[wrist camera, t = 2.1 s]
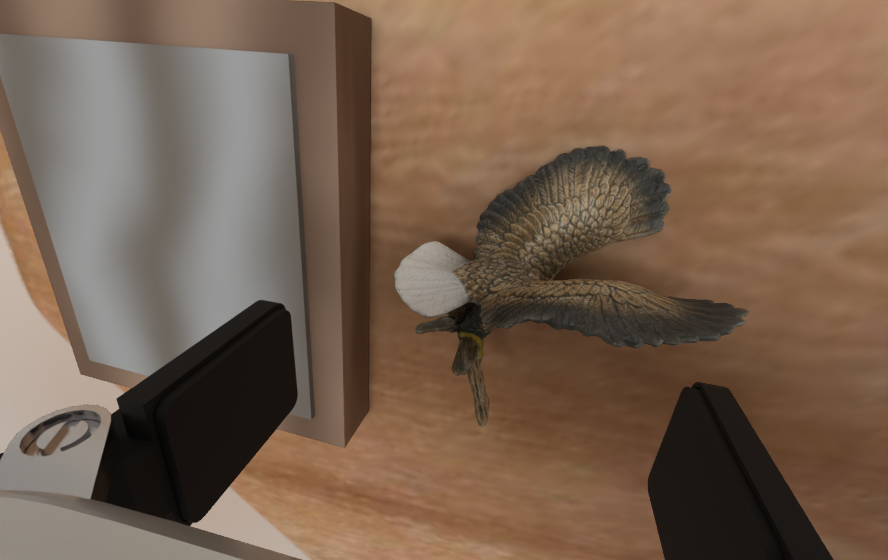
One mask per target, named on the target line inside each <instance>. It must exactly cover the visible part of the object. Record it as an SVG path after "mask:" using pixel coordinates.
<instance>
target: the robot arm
mask: <svg viewBox="0 0 888 560" xmlns="http://www.w3.org/2000/svg"><path fill="white" fill-rule="evenodd" d="M297 398H298V391H297V379H296V368H295V356H294V345H293V333H292V322H291V314H290V312H289V311H288V310H286V308H285V306H284V305H283V304H282V303H276V302H271V301H266V300H258V301H256V302H255V303H253V304H252V305H251V306H249V307H248V308H246V309H245V310H243V311H242V312H241V313H239V314H238V315H236V316H235V317H233V318H232V319H230V320H229V321H228V322H226V323H225V324H223V325H222V326H220V327H219V328H218V329H216V330H215V331H213V332H212V333H210V334H209V335H207V336H206V337H205V338H203V339H202V340H200V341H199V342H197V343H196V344H195V345H193V346H192V347H190V348H189V349H187V350H186V351H185V352H183V353H182V354H180V355H179V356H177V357H176V358H174V359H173V360H172V361H170V362H169V363H167V364H166V365H164V366H163V367H162V368H160V369H159V370H157V371H156V372H154V373H153V374H151V375H150V376H149V377H147V378H146V379H144V380H143V381H141V382H140V383H139V384H137V385H136V386H134V387H133V388H131V389H130V390H128V391H127V392H126V393H124V394H123V395H121V396H120V397H118V398H117V402H118V405H119V409H118V410H117V411H116V412H114V413H113V414H111V413H110V412H109V411H108V410H107V409H106V408H104V407H101V406H98V405H79V406H72V407H68V408H64V409H61V410H57V411H55V412H52V413H50V414H47V415H45V416H43V417H41V418H39V419H37V420H35V421H34V422H32V423H30V424H29V425H27V426H26V427H25V428H23V429H22V430H21V431H19V432H18V433H17V434H16V435H15V436H14V438H13V439H12V440H11V442H10V443H9V445H8V447H7V448H6V450H5V452H4V453H1V454H0V560H301V559H298V558H294V557H291V556H288V555H285V554H281V553H277V552H274V551H271V550H268V549H264V548H261V547H258V546H254V545H251V544H248V543H244V542H241V541H238V540H234V539H231V538H228V537H224V536H221V535H217V534H214V533H211V532H207V531H204V530H201V529H197V528H194V527H191V526H190V525H191V524H192V523H195V522H198V521H200V520H201V519H202V518H203V517H204V516H205V515H206V513H208V511H209V510H210V509H211V508H212V506H213V505H214V504H215V503H216V502H217V500H218V499H219V498H220V497H221V495H222V494H223V493H224V492H225V491H226V489H227V488H228V487H229V486H230V485H231V483H232V482H233V481H234V480H235V479H236V477H237V476H238V475H239V474H240V473H241V471H242V470H243V469H244V468H245V466H246V465H247V464H248V463H249V462H250V460H251V459H252V458H253V457H254V456H255V454H256V453H257V452H258V451H259V449H260V448H261V447H262V446H263V445H264V443H265V442H266V441H267V440H268V439H269V437H270V436H271V435H272V434H273V433H274V431H275V430H276V429H277V428H278V426H279V425H280V424H281V423H282V422H283V420H284V419H285V418H286V417H287V416H288V414H289V413H290V412H291V411H292V409H293V408H294V406H295V404H296V402H297ZM648 492H649V497H650V501H651V505H652V509H653V513H654V517H655V521H656V525H657V529H658V533H659V537H660V541H661V545H662V549H663V553H664V558H665V560H833V558H832V557H831V555H830V553H829V552H828V550H827V548H826V547H825V545H824V544H823V542H822V540H821V539H820V537H819V535H818V534H817V532H816V530H815V529H814V527H813V526H812V524H811V522H810V521H809V519H808V517H807V516H806V514H805V512H804V511H803V509H802V508H801V506H800V504H799V503H798V501H797V499H796V498H795V496H794V494H793V493H792V491H791V490H790V488H789V486H788V485H787V483H786V481H785V480H784V478H783V476H782V475H781V473H780V472H779V470H778V468H777V467H776V465H775V463H774V462H773V460H772V458H771V457H770V455H769V454H768V452H767V450H766V449H765V447H764V445H763V444H762V442H761V440H760V439H759V437H758V436H757V434H756V432H755V431H754V429H753V427H752V426H751V424H750V422H749V421H748V419H747V417H746V416H745V414H744V413H743V411H742V409H741V408H740V406H739V404H738V403H737V401H736V399H735V398H734V396H733V395H732V393H731V391H730V390H729V389H728V388H726V387H722V386H716V385H711V384H706V383H700V382H696V383H694V384H693V385H692V387H684V389H683V390H682V392H681V394H680V397H679V399H678V402H677V405H676V407H675V410H674V412H673V415H672V417H671V420H670V423H669V425H668V428H667V430H666V433H665V436H664V438H663V441H662V443H661V446H660V448H659V451H658V454H657V456H656V459H655V461H654V464H653V466H652V469H651V472H650V474H649V478H648Z"/></svg>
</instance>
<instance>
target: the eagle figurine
mask: <svg viewBox="0 0 888 560" xmlns="http://www.w3.org/2000/svg"><path fill="white" fill-rule="evenodd" d="M649 165H650V162H649V160H648V159H646V158H642V157H636V158H631V159H628V160H627V159H626V152H625V151H623V150H620V149H619V150H617V151H613V152H610V149H609V148H608V147H605V146H599V147H588V148H586V149H585V150H583V149H579V148H577V149H574V150H573V151H572V152H570V153H569V154H565V153H564V154H561V155H559V156H558V157H557V159H556V160H555V161H554V162H550V163H548V164H547V165H545V166H543V167H541V168H540V169H539V170H538V171H537V172H536V175H535V176H532V175H531V176H529V177H527V178H526V179H525V180H524V181H521V182H519V183H518V184H517V185H516V186H515V187H514V189H507V190H505V191H504V192H503V193H502V194H499V195H497V196H496V198H495V200H493V201H492V202H491V203H490V204H489V205H488V208H487V210H486V211H485V212H483V213H482V214H481V215H480V221H479V223H478V224H477V229H478V231H479V233H478V235H477V237H476V242H477V244H478V246H477V247H476V248H475V249H474V251H473V253H474V256H475V259H474V260H473V261H471V260H468V259H466V258H465V257H463V256H461V255H459V254H458V253H456V252H455V251H453V250H451V249H450V248H448V247H447V246H446V245H443V244H442V243H440V242H437V241H433V242H428V243H425V244H423V245H421V246H420V247H419V248H417V249H416V250H414V252H412V253H411V254H409V255H407V256H406V257H404V258H403V259H402V261H401V263H400V266H399V267H398V268H397V270H396V271H395V273H394V278H395V288H396V291H397V292H398V294H399V295H400V297H401V299H402V301H403V302H404V303H405V304H407V305H408V306H409V308H410V309H411V310H412V311H414V312H416V313H419V314H420V315H421V316H424V317H429V318H434V317H439V316H442V315H444V314H449V316H444V317H441V318H439V319H437V320H434V321H431V322H426V323H422V324H420V325H418V326H417V328H416V333H418V334H423V333H427V332H434V331H448V332H451V333H454V332H458V338H459V340H460V342H459V347H458V350H457V353H456V356H455V359H454V362H453V366H452V371H453V373H454V374H455V375H465V374H466V373H467V376H468V379H469V382H470V385H471V388H472V392H473V395H474V400H475V413H476V418H477V421H478V424H479V425H480V426H484V425H485V424H486V422H487V419H488V410H489V400H488V397H487V394H486V390H485V386H484V377H483V374H482V371H481V366H480V363H481V360H482V357H483V345H484V342H483V339H484V338H485V337H486V336H487V335H488V334H490V331H491V328H492V326H493V327H494V326H495V327H498V328H499V327H502V328H506V329H507V328H511V327H512V326H513V325H514V324H516V323H523V322H526V321H530V320H531V321H534V322H536V323H547V324H549V325H550V326H551V327H553V328H554V329H558V330H559V329H567V330H577V331H580V332H581V333H582V334H583V335H584V336H598V337H600V338H601V339H602V340H603V341H605V342H606V343H608V344H610V345H612V346H615V347H621V346H624V345H625V346H629V347H632V348H640V347H642V345H643V343H645V344H648V345H651V346H654V347H657V346H659V345H660V344H662V343H663V344H668V345H677V344H680V343H696V342H698V341H715V340H719V339H720V337H721V336H723V335H726V334H730V333H732V332H733V331H734V328H735V327H737V326H741V325H743V324H744V323H745V321H744V320H742V319H740V318H742V317H744V316H746V315H747V314H748V313H749V311H748V310H745V309H740V308H735V307H734V306H733V305H731V304H727V303H713V301H712V300H696V299H682V298H675V297H671V296H665V295H662V294H660V293H658V292H655V291H652V290H649V289H647V288H645V287H642V286H640V285H636V284H632V283H629V282H625V281H619V280H595V279H569V280H555V281H552V280H553V278H554V276H555V275H556V274H557V273H558V272H559V271H560V270H561V269H563V268H564V267H566V266H567V265H569V264H570V263H571V262H573V261H574V260H576V259H577V258H579V257H581V256H584V255H586V254H588V253H590V252H593V251H595V250H598V249H600V248H602V247H604V246H607V245H609V244H611V243H614V242H619V241H624V240H631V239H635V238H637V237H643V236H648V235H651V234H653V233H656V232H659V231H661V230H662V229H663V226H664V223H663V221H662V218H663V217H664V216H665V214H666V213H667V212H668V211H669V206H668V204H667V203H666V202H665V201H664V200H665V199H666V198H667V197H668V196H669V195H670V193H671V186H670V185H669V184H667V183H664V180H665V177H666V174H665V172H664V171H662V170H661V169H652V168H650V167H649Z"/></svg>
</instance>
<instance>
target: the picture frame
mask: <svg viewBox="0 0 888 560" xmlns="http://www.w3.org/2000/svg"><path fill="white" fill-rule="evenodd" d="M370 109H371V18H369V17H366V16H364V15H362V14H360V13H357V12H355V11H353V10H351V9H348V8H346V7H344V6H342V5H339V4H337V3H335V2H314V1H290V0H0V130H1V133H2V137H3V140H4V143H5V146H6V149H7V152H8V155H9V158H10V161H11V164H12V167H13V170H14V173H15V176H16V179H17V182H18V185H19V188H20V191H21V194H22V197H23V200H24V203H25V206H26V209H27V212H28V216H29V219H30V222H31V225H32V228H33V231H34V234H35V237H36V240H37V243H38V246H39V249H40V252H41V255H42V258H43V261H44V264H45V267H46V270H47V273H48V276H49V279H50V282H51V285H52V288H53V291H54V295H55V298H56V301H57V304H58V307H59V310H60V313H61V316H62V319H63V322H64V325H65V328H66V331H67V334H68V337H69V340H70V343H71V346H72V349H73V352H74V355H75V358H76V361H77V364H78V367H79V370H80V373H81V374H82V375H86V376H89V377H93V378H96V379H100V380H103V381H107V382H111V383H114V384H118V385H121V386H125V387H128V388H133V387H134V386H136V385H137V384H139V383H140V382H141V381H143V380H144V379H146V378H147V377H149V376H150V375H151V374H153V373H154V372H156V371H157V370H159V369H160V368H162V367H163V366H164V365H166V364H167V363H169V362H170V361H172V360H173V359H174V358H176V357H177V356H179V355H180V354H182V353H183V352H185V351H186V350H187V349H189V348H190V347H192V346H193V345H195V344H196V343H197V342H199V341H200V340H202V339H203V338H205V337H206V336H207V335H209V334H210V333H212V332H213V331H215V330H216V329H218V328H219V327H220V326H222V325H223V324H225V323H226V322H228V321H229V320H230V319H232V318H233V317H235V316H236V315H238V314H239V313H241V312H242V311H243V310H245V309H246V308H248V307H249V306H251V305H252V304H253V303H255V302H256V301H258V300H266V301H271V302H276V303H282V304H283V305H284V306H285V308H286V310H288V311H289V312H290V314H291V322H292V333H293V345H294V356H295V368H296V379H297V391H298V398H297V402H296V404H295V406H294V408H293V409H292V411H291V412H290V413H289V414H288V416H287V417H286V418H285V419H284V420H283V422H282V423H281V424H280V425H279V426H278V428H277V429H279V430H282V431H286V432H289V433H293V434H296V435H300V436H304V437H307V438H311V439H314V440H318V441H321V442H325V443H329V444H332V445H336V446H339V447H343V448H345V447H346V445H347V444H348V442H349V441H350V439H351V437H352V436H353V434H354V433H355V431H356V430H357V428H358V427H359V425H360V423H361V422H362V420H363V419H364V417H365V416H366V414H367V413H368V398H369V253H370Z"/></svg>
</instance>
